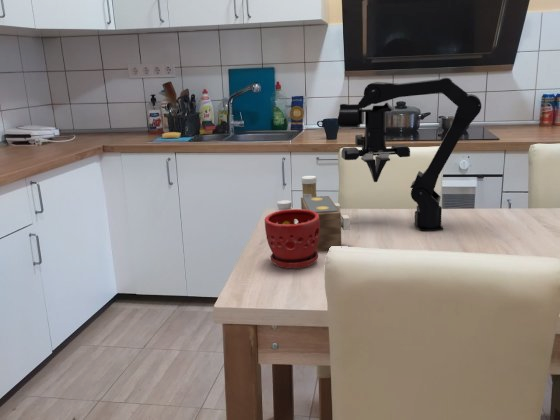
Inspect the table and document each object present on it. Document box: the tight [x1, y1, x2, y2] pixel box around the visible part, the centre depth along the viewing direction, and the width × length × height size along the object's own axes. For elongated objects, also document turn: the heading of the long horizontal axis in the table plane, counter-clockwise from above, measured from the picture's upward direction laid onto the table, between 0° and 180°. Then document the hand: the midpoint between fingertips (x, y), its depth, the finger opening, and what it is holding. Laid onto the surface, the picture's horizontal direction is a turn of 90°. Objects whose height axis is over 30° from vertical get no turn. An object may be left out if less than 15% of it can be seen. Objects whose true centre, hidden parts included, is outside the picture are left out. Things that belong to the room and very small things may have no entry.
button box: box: [300, 195, 342, 253], centre depth 146 cm, size 8×19×10 cm, turn 4°
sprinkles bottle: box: [301, 175, 318, 198], centre depth 167 cm, size 5×5×13 cm
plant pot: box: [264, 208, 320, 269], centre depth 130 cm, size 13×13×12 cm
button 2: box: [341, 214, 351, 231], centre depth 139 cm, size 10×3×3 cm, turn 94°
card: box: [302, 195, 338, 213], centre depth 145 cm, size 7×16×1 cm, turn 4°
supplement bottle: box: [275, 199, 296, 224], centre depth 152 cm, size 5×5×10 cm
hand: (375, 181), depth 156 cm, fingers closed
